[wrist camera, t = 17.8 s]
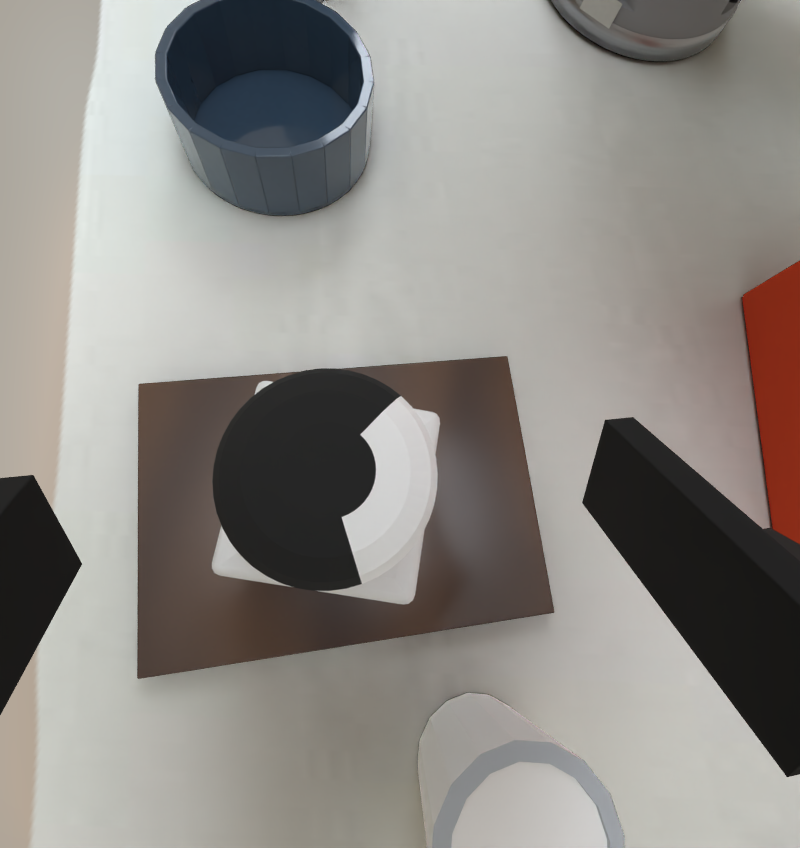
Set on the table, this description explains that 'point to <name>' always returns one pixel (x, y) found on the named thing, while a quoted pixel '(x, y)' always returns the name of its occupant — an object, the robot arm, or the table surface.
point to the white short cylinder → (507, 783)
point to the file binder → (778, 390)
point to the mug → (268, 101)
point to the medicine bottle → (326, 486)
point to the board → (320, 611)
